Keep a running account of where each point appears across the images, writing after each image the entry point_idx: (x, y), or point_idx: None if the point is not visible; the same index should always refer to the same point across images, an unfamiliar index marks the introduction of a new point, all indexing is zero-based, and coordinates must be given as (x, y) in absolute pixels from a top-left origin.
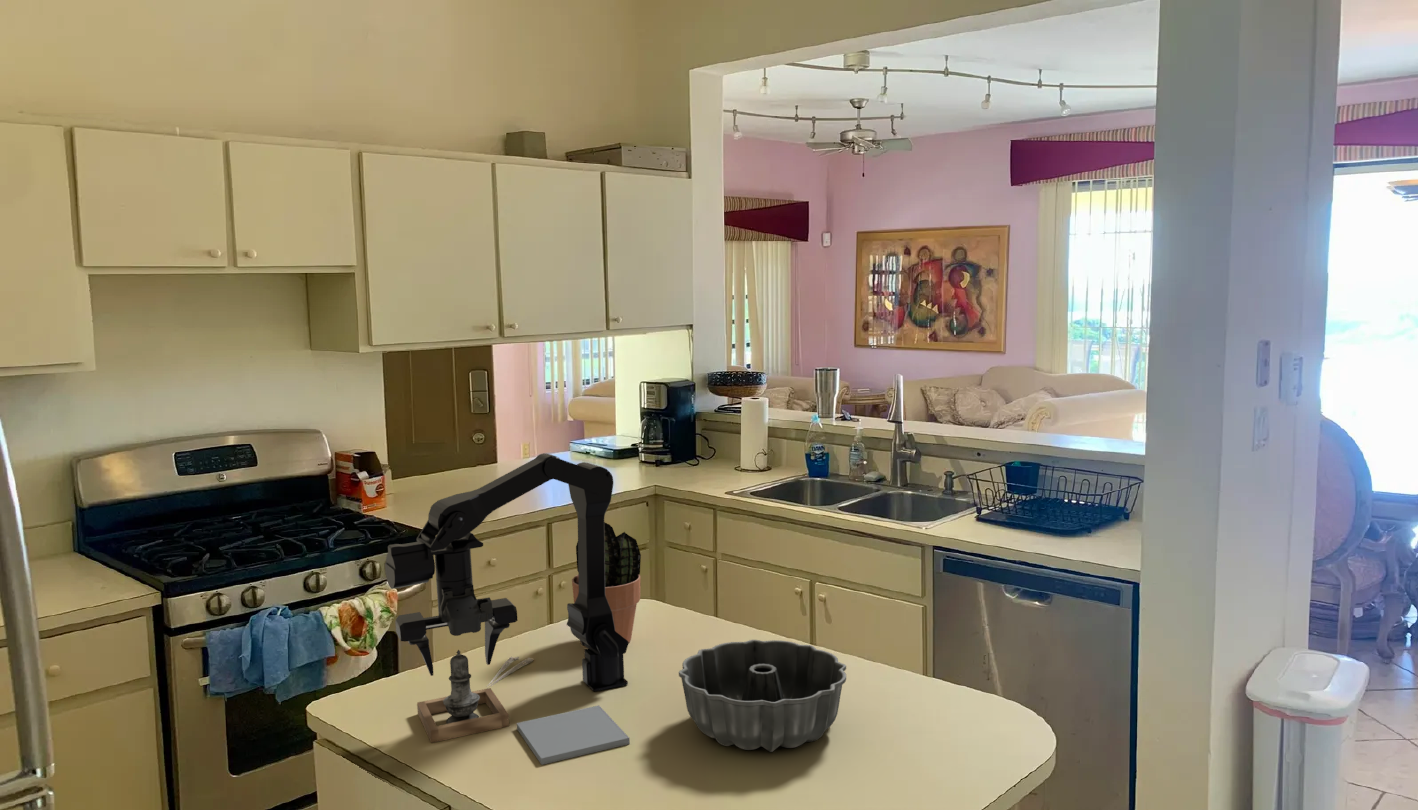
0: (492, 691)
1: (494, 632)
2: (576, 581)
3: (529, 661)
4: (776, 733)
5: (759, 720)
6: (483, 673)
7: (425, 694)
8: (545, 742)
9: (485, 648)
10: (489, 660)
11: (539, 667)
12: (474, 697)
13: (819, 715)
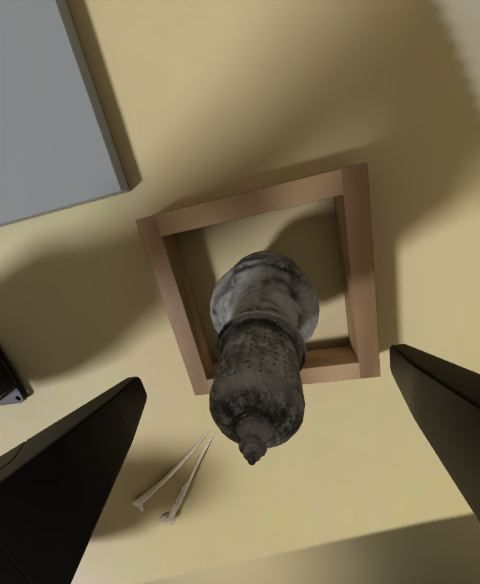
0: (189, 374)
1: None
2: None
3: (138, 498)
4: None
5: None
6: (222, 487)
7: (340, 444)
8: (16, 7)
9: (114, 464)
10: (118, 387)
11: (120, 473)
12: (223, 301)
13: None
